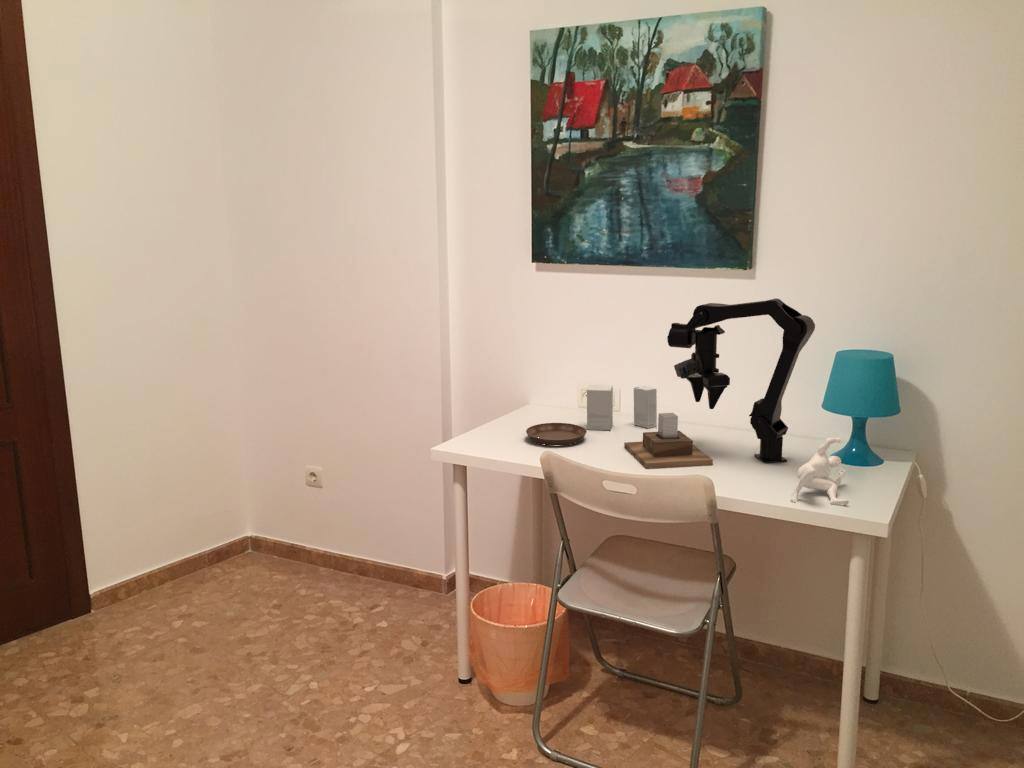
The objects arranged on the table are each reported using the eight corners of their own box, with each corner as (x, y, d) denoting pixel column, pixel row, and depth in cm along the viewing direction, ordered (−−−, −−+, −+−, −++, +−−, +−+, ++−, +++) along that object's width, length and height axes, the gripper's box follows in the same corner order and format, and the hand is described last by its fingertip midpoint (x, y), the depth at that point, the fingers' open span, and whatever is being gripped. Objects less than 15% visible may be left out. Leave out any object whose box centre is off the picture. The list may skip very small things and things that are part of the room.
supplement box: (613, 425, 260) (613, 385, 258) (610, 431, 253) (611, 390, 250) (589, 423, 262) (589, 384, 259) (586, 429, 255) (586, 389, 252)
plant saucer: (573, 451, 233) (574, 441, 232) (516, 444, 240) (516, 434, 240) (595, 436, 249) (595, 426, 248) (540, 430, 256) (540, 420, 255)
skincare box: (657, 426, 258) (658, 388, 255) (647, 429, 255) (648, 390, 252) (642, 422, 262) (643, 385, 260) (632, 425, 259) (633, 387, 257)
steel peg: (676, 452, 225) (677, 416, 223) (662, 453, 224) (663, 416, 222) (671, 448, 229) (672, 412, 227) (657, 449, 228) (658, 413, 226)
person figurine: (844, 463, 184) (838, 429, 200) (784, 470, 188) (783, 436, 204) (853, 515, 187) (847, 477, 203) (794, 521, 192) (792, 483, 208)
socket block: (712, 465, 219) (713, 444, 217) (646, 468, 216) (646, 448, 215) (685, 444, 238) (686, 425, 237) (624, 447, 235) (624, 428, 234)
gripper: (665, 346, 236) (664, 400, 239) (692, 356, 218) (690, 414, 221) (702, 344, 238) (700, 397, 241) (731, 354, 220) (729, 412, 223)
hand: (704, 405), depth 232 cm, fingers open, 9 cm apart
